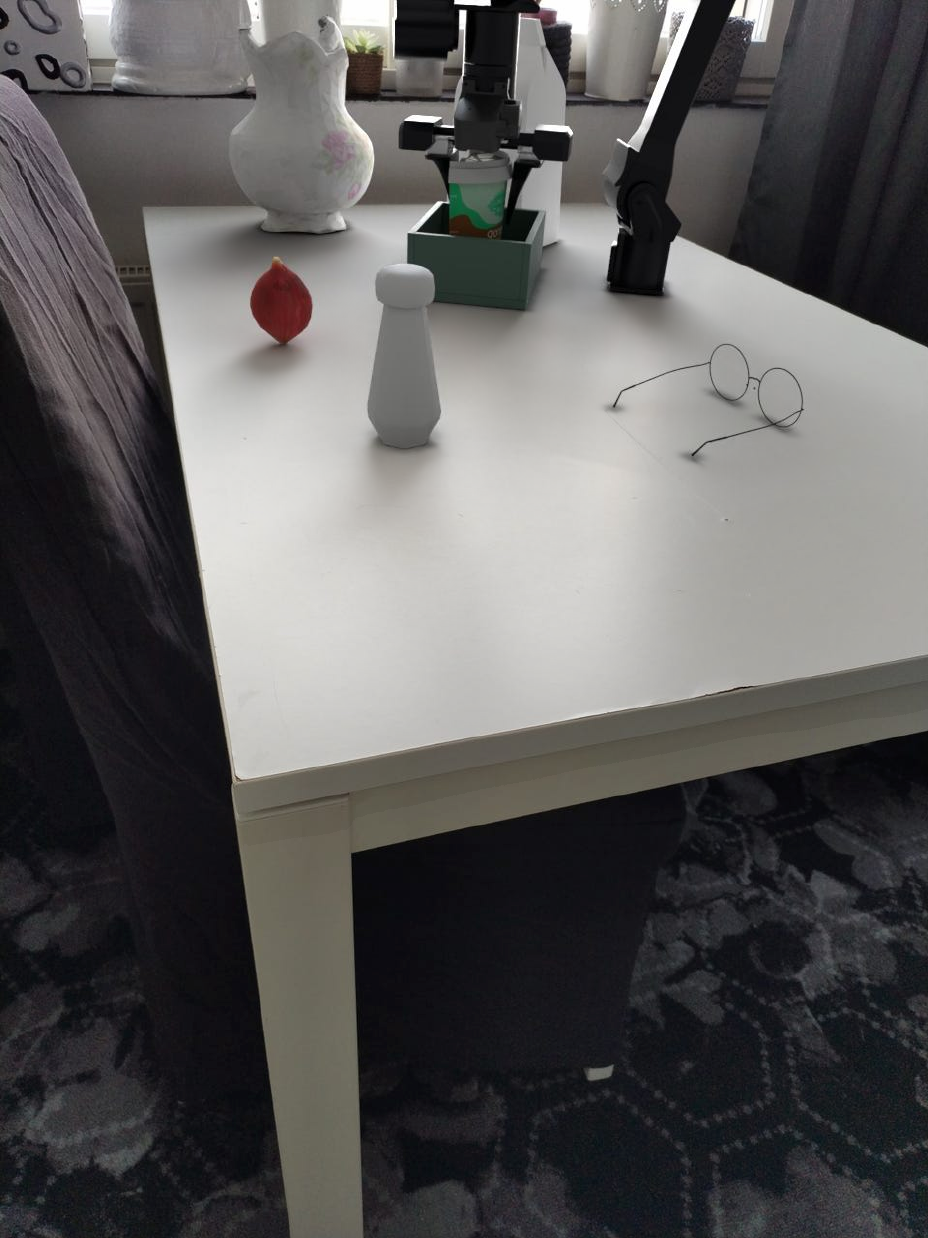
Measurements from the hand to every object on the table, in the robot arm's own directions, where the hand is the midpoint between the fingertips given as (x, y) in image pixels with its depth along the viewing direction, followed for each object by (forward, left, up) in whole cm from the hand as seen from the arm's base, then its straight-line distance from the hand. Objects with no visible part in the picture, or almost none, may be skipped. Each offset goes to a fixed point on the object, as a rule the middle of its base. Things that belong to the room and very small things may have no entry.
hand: (481, 221), depth 103 cm
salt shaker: (-1, +45, -7) cm, 46 cm away
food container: (0, 0, -3) cm, 3 cm away
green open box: (0, 0, -7) cm, 7 cm away
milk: (0, -22, -7) cm, 23 cm away
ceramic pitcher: (+28, -22, -7) cm, 36 cm away
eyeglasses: (-25, +35, -7) cm, 44 cm away
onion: (+15, +27, -7) cm, 32 cm away
